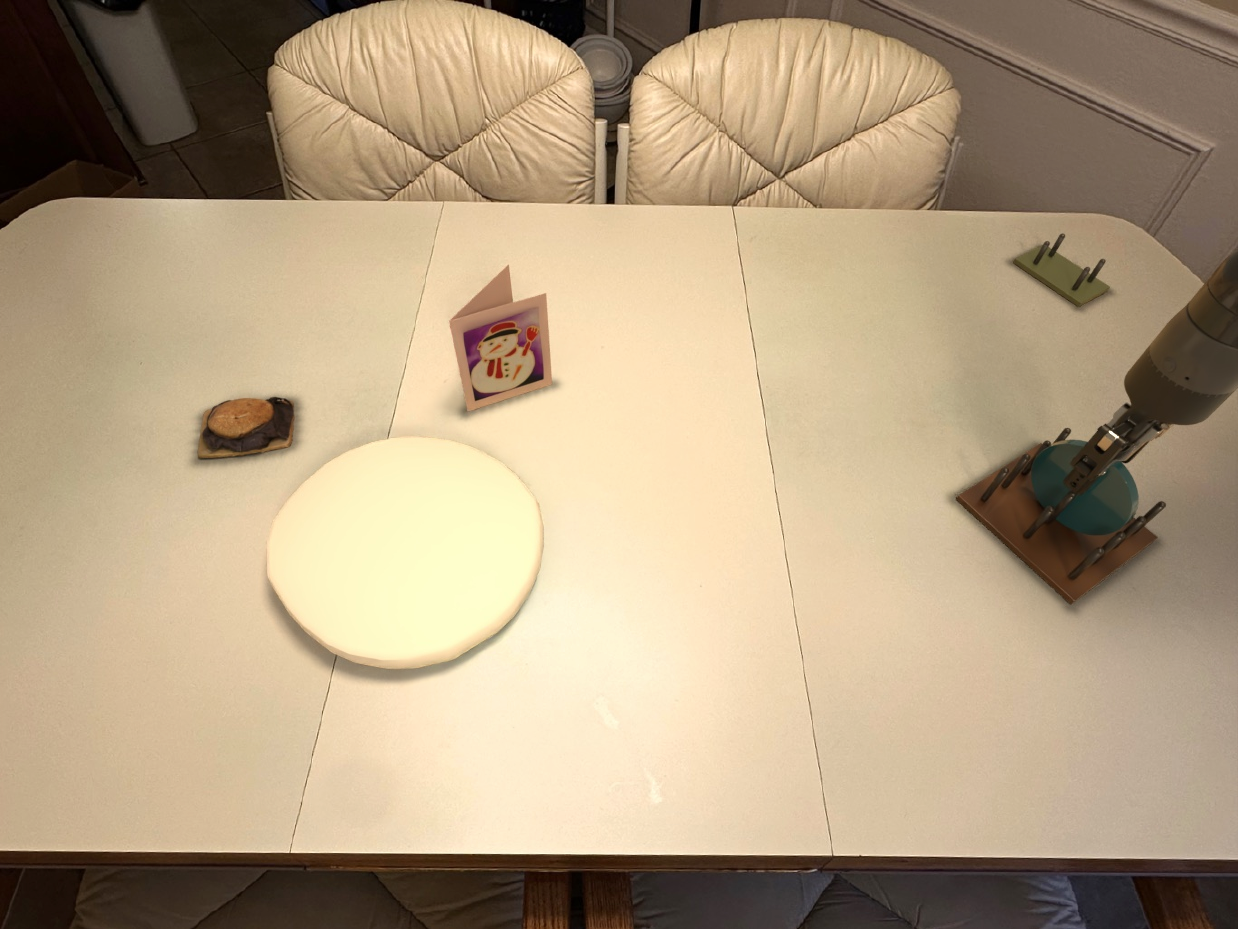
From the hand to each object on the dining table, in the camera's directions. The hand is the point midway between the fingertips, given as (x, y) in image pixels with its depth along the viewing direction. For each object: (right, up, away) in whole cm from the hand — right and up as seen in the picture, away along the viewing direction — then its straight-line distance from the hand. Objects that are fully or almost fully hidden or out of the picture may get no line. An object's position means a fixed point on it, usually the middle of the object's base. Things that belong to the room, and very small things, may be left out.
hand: (1096, 472), depth 78 cm
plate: (-72, -9, +2) cm, 73 cm away
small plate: (0, -5, +7) cm, 8 cm away
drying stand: (+17, +29, +34) cm, 48 cm away
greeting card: (-65, +11, +18) cm, 69 cm away
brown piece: (-95, +5, +12) cm, 96 cm away
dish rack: (0, -6, +7) cm, 9 cm away
